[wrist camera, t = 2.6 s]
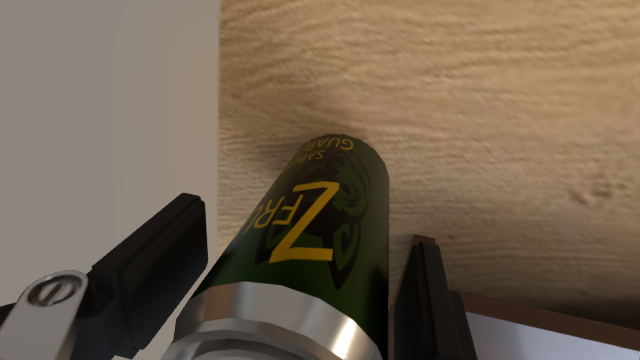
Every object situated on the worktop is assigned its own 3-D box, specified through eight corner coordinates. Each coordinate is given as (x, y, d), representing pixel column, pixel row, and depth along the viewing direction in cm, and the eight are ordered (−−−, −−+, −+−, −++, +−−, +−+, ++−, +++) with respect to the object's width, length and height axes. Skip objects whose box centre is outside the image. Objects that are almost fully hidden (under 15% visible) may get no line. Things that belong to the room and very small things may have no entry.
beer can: (406, 199, 17) (431, 473, 7) (321, 231, 19) (238, 482, 9) (360, 110, 16) (300, 289, 5) (273, 155, 18) (101, 350, 7)
